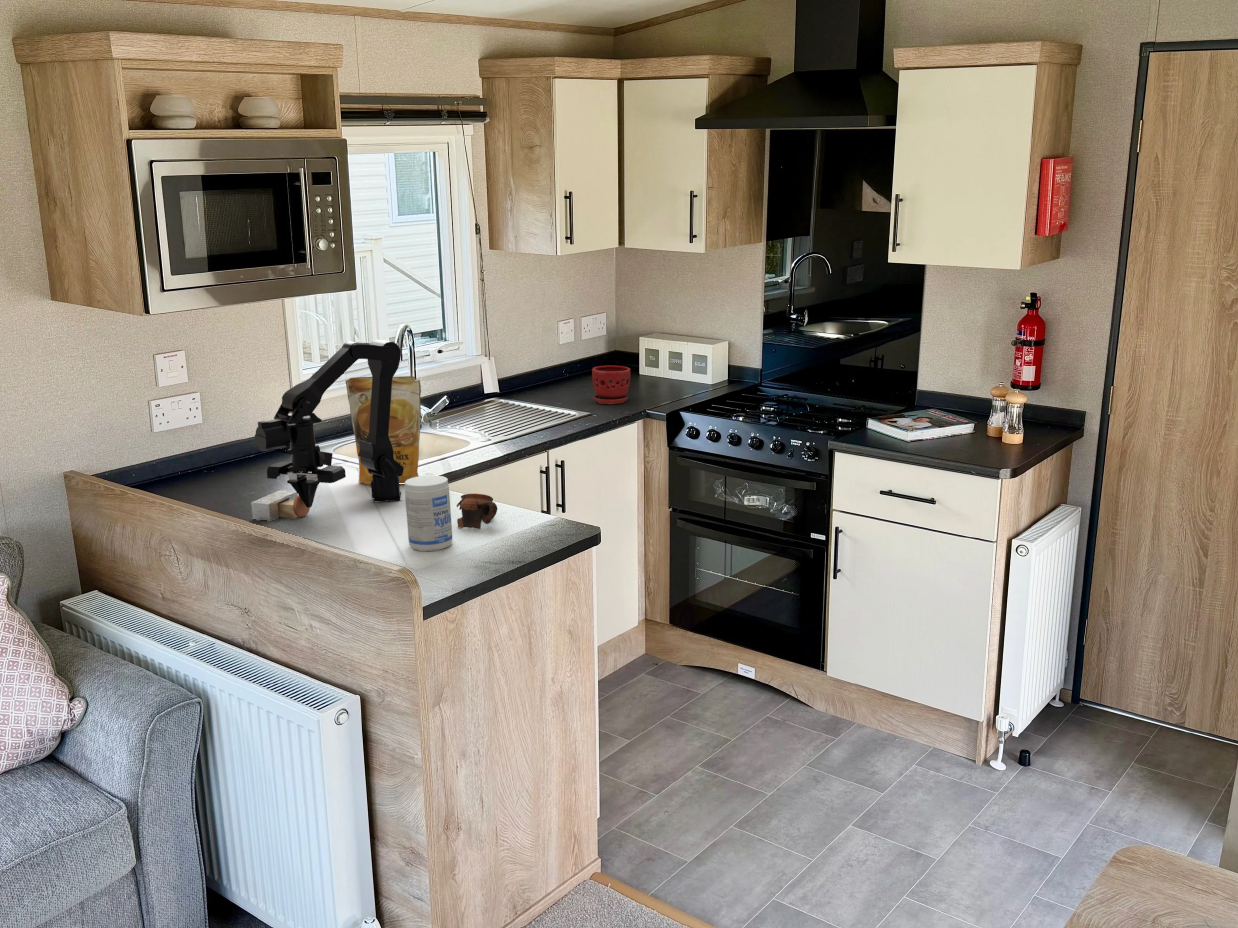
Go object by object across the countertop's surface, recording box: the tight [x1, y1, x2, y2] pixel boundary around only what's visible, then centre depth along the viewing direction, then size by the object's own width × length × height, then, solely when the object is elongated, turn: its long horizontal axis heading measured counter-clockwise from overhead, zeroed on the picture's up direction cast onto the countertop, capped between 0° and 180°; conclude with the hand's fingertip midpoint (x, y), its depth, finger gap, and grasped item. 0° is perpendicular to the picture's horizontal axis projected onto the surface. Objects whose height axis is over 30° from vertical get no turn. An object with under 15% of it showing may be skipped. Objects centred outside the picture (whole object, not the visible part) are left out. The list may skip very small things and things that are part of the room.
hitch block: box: [250, 489, 298, 522], centre depth 275 cm, size 5×11×4 cm, turn 159°
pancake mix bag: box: [344, 375, 422, 486], centre depth 298 cm, size 7×19×28 cm, turn 86°
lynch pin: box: [278, 495, 311, 519], centre depth 274 cm, size 10×5×5 cm, turn 68°
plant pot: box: [591, 365, 631, 405], centre depth 392 cm, size 13×13×12 cm
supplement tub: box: [404, 474, 453, 552], centre depth 247 cm, size 10×10×15 cm
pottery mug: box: [456, 493, 498, 530], centre depth 263 cm, size 12×10×8 cm
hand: (309, 507), depth 272 cm, fingers closed
